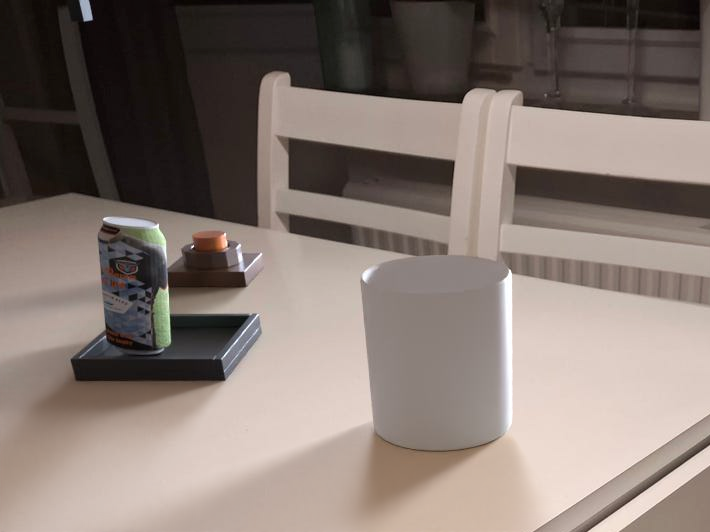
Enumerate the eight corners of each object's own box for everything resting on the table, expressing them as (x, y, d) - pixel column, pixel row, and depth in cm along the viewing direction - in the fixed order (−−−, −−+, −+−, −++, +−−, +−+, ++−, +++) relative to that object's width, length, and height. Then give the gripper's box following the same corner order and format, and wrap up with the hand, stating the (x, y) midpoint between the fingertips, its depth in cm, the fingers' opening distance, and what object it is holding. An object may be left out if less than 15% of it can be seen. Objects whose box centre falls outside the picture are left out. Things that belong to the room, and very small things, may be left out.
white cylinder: (409, 393, 91) (399, 250, 84) (530, 407, 87) (532, 259, 80) (349, 441, 82) (333, 287, 75) (482, 459, 79) (478, 299, 72)
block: (165, 287, 122) (159, 255, 119) (187, 267, 129) (181, 238, 126) (246, 286, 121) (241, 255, 119) (264, 267, 128) (259, 237, 126)
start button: (190, 254, 121) (187, 238, 120) (200, 246, 125) (197, 230, 123) (222, 253, 121) (220, 238, 120) (231, 245, 124) (229, 230, 123)
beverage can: (101, 350, 100) (69, 218, 93) (171, 336, 103) (145, 207, 96) (123, 366, 96) (91, 229, 89) (196, 351, 99) (170, 218, 92)
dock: (75, 380, 96) (69, 359, 95) (127, 333, 107) (123, 313, 106) (225, 380, 95) (221, 359, 94) (262, 332, 106) (259, 313, 105)
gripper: (97, -264, 103) (148, 17, 117) (-25, -259, 104) (40, 19, 118) (68, -277, 97) (126, 21, 111) (-61, -272, 98) (12, 23, 112)
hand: (82, 20), depth 115 cm, fingers closed
